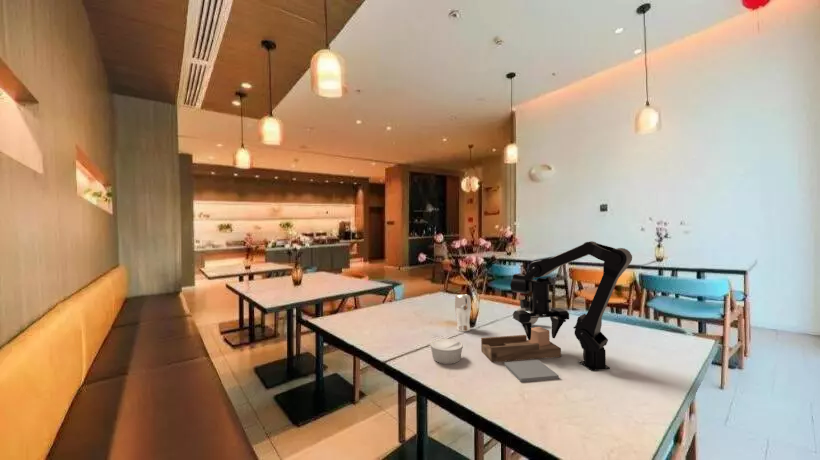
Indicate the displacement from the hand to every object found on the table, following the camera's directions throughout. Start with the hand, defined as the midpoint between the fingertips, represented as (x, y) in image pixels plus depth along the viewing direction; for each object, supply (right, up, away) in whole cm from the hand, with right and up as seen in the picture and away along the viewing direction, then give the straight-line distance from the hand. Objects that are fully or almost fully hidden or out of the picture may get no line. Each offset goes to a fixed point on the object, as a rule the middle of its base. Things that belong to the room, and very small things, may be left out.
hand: (541, 338), depth 121 cm
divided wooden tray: (-8, -5, -1) cm, 9 cm away
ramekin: (-34, -6, -3) cm, 35 cm away
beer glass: (-23, -5, +28) cm, 37 cm away
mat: (-9, -5, -15) cm, 19 cm away
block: (0, -2, +1) cm, 2 cm away
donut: (+6, -5, +32) cm, 33 cm away
